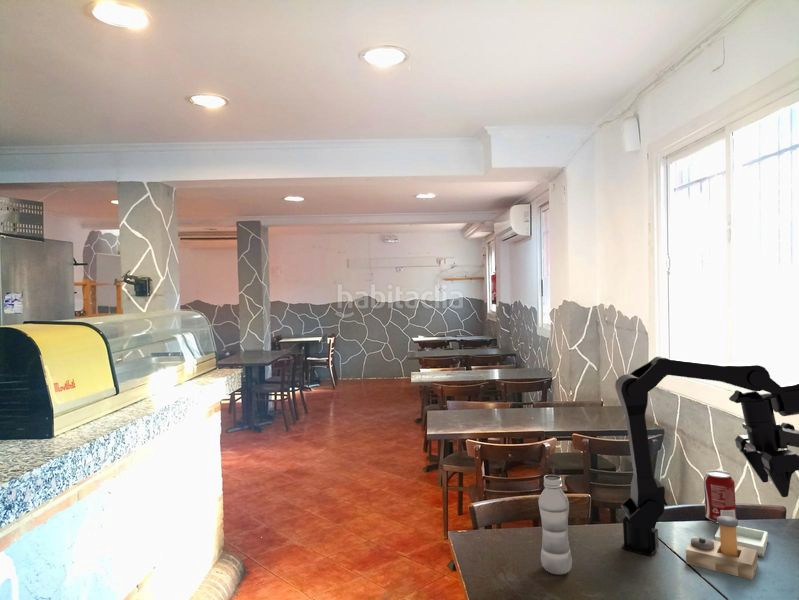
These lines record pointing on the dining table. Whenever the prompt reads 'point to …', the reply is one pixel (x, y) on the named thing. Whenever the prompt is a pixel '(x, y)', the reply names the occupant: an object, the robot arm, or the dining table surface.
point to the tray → (749, 539)
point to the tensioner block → (721, 558)
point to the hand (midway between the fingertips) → (774, 489)
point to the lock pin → (728, 535)
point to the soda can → (719, 495)
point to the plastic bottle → (554, 527)
